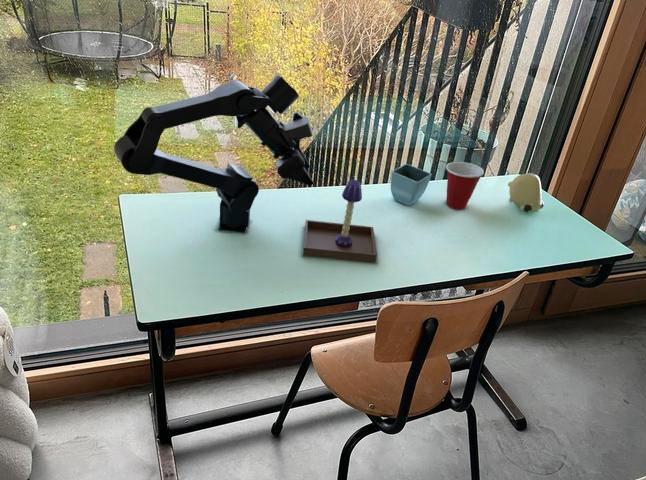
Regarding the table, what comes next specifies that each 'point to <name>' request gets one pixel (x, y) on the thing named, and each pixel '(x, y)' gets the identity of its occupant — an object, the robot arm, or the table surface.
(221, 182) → the robot arm
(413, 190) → the flower pot
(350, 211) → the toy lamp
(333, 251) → the tray
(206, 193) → the table surface
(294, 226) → the table surface
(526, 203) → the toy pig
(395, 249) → the table surface
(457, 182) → the plastic cup
